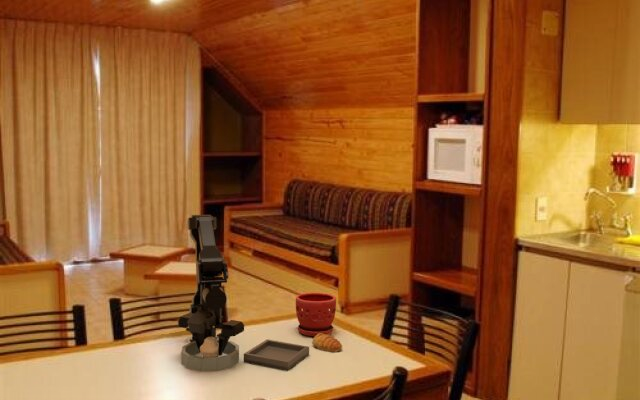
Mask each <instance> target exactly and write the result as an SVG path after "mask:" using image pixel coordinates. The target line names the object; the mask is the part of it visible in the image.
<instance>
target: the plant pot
mask: <svg viewBox="0 0 640 400" xmlns="http://www.w3.org/2000/svg"><path fill="white" fill-rule="evenodd" d="M336 309H337V298H336V296H334V295H333V294H329V293H323V292H306V293H300V294H298V295H297V296H295V312H296V318H297V321H298V324H299V325H297V330H298V332H299V333H301V334H303V335H304V336H309V337H315V336H316V335H317V334H319V333H323V334H325V335H327V334H328V335H331V333H332V332H333V331H334V326H333V322H334V320H335V316H336Z"/></svg>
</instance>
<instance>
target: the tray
mask: <svg viewBox="0 0 640 400" xmlns="http://www.w3.org/2000/svg"><path fill="white" fill-rule="evenodd" d="M308 356H310V346H306V345H300V344H296V343H291V342H290V343H289V342H284V341H279V340H273V339H272V340H271V339H269V338H268V339H265V340H263V341H262V342H260V343H259V344H257V345H256V346H254V347H252V348H250V349H249V350H248V351H246V352H244V353H243V363H244V364H250V365H255V366H260V367H265V368H271V369H275V370H279V371H280V370H281V371H285V370H286V371H285V372H288V370H289V371H290V370H291V369H293V368H294V367H295V366H297V365H298V364H299V363H300V362H302V361H303V360H304V359H306V358H307V357H308ZM296 364H297V365H296ZM292 367H293V368H292Z"/></svg>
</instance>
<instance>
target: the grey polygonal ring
mask: <svg viewBox="0 0 640 400" xmlns="http://www.w3.org/2000/svg"><path fill="white" fill-rule="evenodd" d="M204 340H205V339H204ZM217 342H218V344H219V338H218V339H217ZM223 353H224V354H226V355H221V356H218V357H205V358H203V356H202V357H201V356H196V355H197V354H201V352H199V349H198V347H197V344H196V341H193V342H188V343H187V344H184V345H182V347H181V352H180V358H181V359H180V360H181V361H180V364H181V365H182V366H183V367H185V368H187V369H188V370H192V371H193V370H194V371H197V372H198V371H199V372H219V371H223V370H229V369H232V368H233V367H235V366H236V365H238V364H239V362H240V345H239V344H237V343H236V342H234V341H233V340H232V341H231V340H228V342H227V345H226V347H225V349H224V351H223Z"/></svg>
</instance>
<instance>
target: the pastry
mask: <svg viewBox="0 0 640 400" xmlns="http://www.w3.org/2000/svg"><path fill="white" fill-rule="evenodd" d="M311 343H312V346H313V347H314V348H316V349H318V350H319V351H324V352H329V353H337V352H339V351H341V350H342V348H343V345H342V343H341V342H340V341H339V340H338V339H337V338H336V337H334V336H333V335H331V334H327V335H325V334H323V333H319V334H317V335H316V336H313V339H312V341H311Z"/></svg>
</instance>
